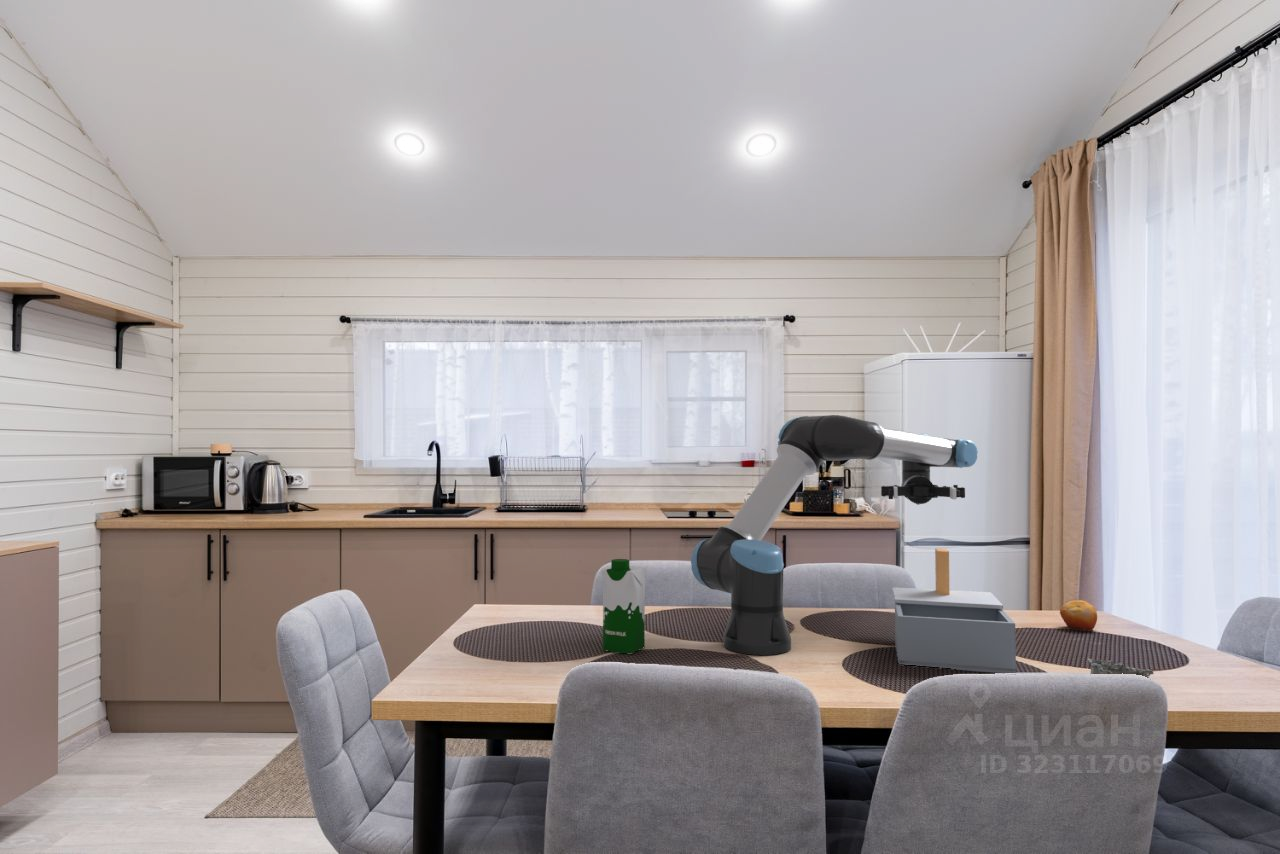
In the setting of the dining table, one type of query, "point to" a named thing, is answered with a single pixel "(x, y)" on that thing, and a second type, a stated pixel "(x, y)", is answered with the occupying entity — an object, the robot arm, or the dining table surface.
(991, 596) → the box lid with handle
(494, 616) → the dining table surface
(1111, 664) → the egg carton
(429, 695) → the dining table surface
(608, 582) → the milk carton
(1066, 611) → the fruit
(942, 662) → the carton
